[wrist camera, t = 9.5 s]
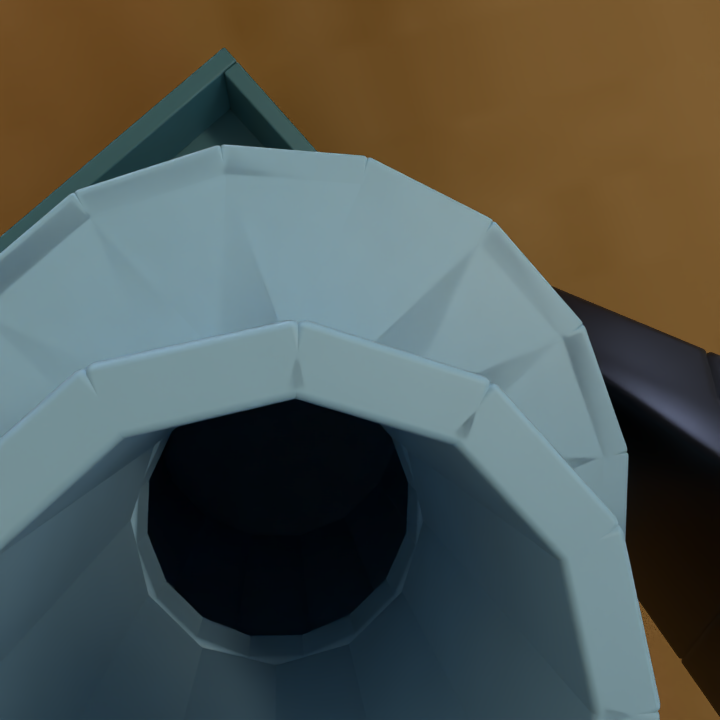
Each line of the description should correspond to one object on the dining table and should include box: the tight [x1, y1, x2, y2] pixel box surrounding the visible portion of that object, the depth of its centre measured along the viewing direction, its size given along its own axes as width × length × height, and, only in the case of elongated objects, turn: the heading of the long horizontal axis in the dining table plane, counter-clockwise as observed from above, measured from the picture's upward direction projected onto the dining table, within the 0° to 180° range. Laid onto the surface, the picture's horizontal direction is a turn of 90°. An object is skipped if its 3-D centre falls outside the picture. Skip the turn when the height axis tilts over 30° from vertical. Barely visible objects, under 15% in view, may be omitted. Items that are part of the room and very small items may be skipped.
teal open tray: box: [0, 48, 317, 253], centre depth 18 cm, size 16×11×3 cm
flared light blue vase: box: [0, 144, 660, 720], centre depth 9 cm, size 6×6×13 cm
